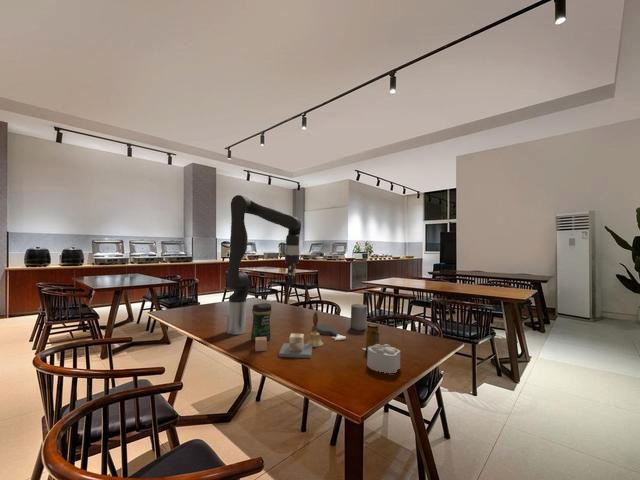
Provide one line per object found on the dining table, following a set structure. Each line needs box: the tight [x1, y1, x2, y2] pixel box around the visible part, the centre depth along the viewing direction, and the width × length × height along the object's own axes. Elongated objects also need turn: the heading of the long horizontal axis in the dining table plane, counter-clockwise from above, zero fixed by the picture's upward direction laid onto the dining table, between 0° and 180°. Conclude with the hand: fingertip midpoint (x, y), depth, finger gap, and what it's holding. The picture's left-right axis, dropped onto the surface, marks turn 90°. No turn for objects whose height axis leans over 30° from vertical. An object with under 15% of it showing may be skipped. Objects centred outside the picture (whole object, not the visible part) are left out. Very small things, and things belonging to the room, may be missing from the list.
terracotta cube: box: [254, 337, 268, 352], centre depth 145 cm, size 5×5×5 cm
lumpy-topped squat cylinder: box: [366, 343, 401, 375], centre depth 127 cm, size 10×13×9 cm
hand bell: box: [306, 311, 324, 348], centre depth 154 cm, size 8×8×16 cm
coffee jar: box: [250, 302, 272, 342], centre depth 159 cm, size 10×8×19 cm
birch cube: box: [289, 333, 305, 351], centre depth 142 cm, size 6×6×6 cm
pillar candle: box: [349, 303, 368, 331], centre depth 187 cm, size 10×10×15 cm
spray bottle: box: [311, 323, 347, 341], centre depth 172 cm, size 3×11×24 cm
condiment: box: [361, 323, 380, 353], centre depth 147 cm, size 7×8×12 cm
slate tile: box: [278, 342, 313, 359], centre depth 142 cm, size 14×14×2 cm
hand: (291, 284), depth 165 cm, fingers open, 8 cm apart
